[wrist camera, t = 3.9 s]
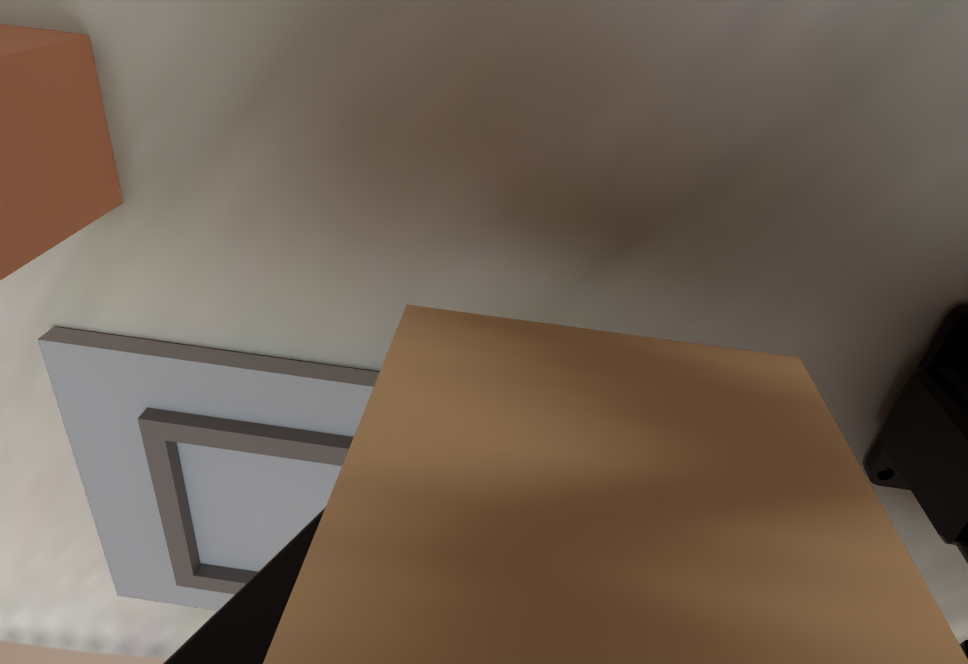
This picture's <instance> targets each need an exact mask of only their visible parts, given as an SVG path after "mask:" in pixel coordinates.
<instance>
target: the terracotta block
mask: <svg viewBox="0 0 968 664" xmlns="http://www.w3.org/2000/svg"><path fill="white" fill-rule="evenodd" d="M122 203H123V200H122V195H121V190H120V185H119V180H118V175H117V170H116V165H115V161H114V156H113V151H112V146H111V141H110V136H109V131H108V126H107V121H106V116H105V111H104V107H103V102H102V97H101V92H100V87H99V82H98V77H97V72H96V67H95V62H94V57H93V53H92V48H91V43H90V38H89V35H84V34H76V33H68V32H60V31H52V30H44V29H36V28H28V27H20V26H12V25H4V24H0V280H2V279H3V278H5V277H6V276H8V275H10V274H11V273H13V272H14V271H16V270H17V269H19V268H21V267H22V266H24V265H25V264H27V263H29V262H30V261H32V260H33V259H35V258H36V257H38V256H40V255H41V254H43V253H44V252H46V251H47V250H49V249H51V248H52V247H54V246H55V245H57V244H59V243H60V242H62V241H63V240H65V239H66V238H68V237H70V236H71V235H73V234H74V233H76V232H77V231H79V230H81V229H82V228H84V227H85V226H87V225H89V224H90V223H92V222H93V221H95V220H96V219H98V218H100V217H101V216H103V215H104V214H106V213H107V212H109V211H111V210H112V209H114V208H115V207H117V206H119V205H120V204H122Z"/></svg>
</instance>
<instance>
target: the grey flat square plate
mask: <svg viewBox="0 0 968 664" xmlns="http://www.w3.org/2000/svg"><path fill="white" fill-rule="evenodd" d="M38 342H39V346H40V349H41V352H42V355H43V358H44V362H45V365H46V368H47V371H48V374H49V378H50V381H51V384H52V387H53V390H54V394H55V397H56V400H57V403H58V406H59V410H60V413H61V416H62V419H63V422H64V426H65V429H66V432H67V435H68V438H69V442H70V445H71V448H72V451H73V454H74V458H75V461H76V464H77V467H78V470H79V474H80V477H81V480H82V483H83V486H84V490H85V493H86V496H87V499H88V502H89V506H90V509H91V512H92V515H93V518H94V522H95V525H96V528H97V531H98V534H99V538H100V541H101V544H102V547H103V550H104V554H105V557H106V560H107V563H108V566H109V570H110V573H111V576H112V579H113V582H114V586H115V589H116V592H117V595H118V596H124V597H131V598H137V599H144V600H150V601H157V602H163V603H170V604H177V605H183V606H190V607H196V608H203V609H209V610H216V611H218V610H219V609H220V608H221V607H222V606H224V605H225V604H226V603H227V602H228V601H229V600H230V599H231V598H232V597H233V596H234V595H235V594H236V593H237V592H238V591H239V590H240V589H241V588H242V587H243V586H244V585H245V584H246V583H247V582H248V581H249V580H250V579H251V578H253V577H254V576H255V575H256V574H257V573H258V572H259V571H260V570H261V569H262V568H263V567H264V566H265V565H266V564H267V563H268V562H269V561H270V560H271V559H272V558H273V557H274V556H275V555H276V554H277V553H278V552H279V551H280V550H282V549H283V548H284V547H285V546H286V545H287V544H288V543H289V542H290V541H291V540H292V539H293V538H294V537H295V536H296V535H297V534H298V533H299V532H300V531H301V530H302V529H303V528H304V527H305V526H306V525H307V524H308V523H309V522H311V521H312V520H313V519H314V518H315V517H316V516H317V515H318V514H319V513H320V512H321V511H322V510H323V509H324V508H325V507H326V505H327V503H328V500H329V498H330V495H331V493H332V490H333V488H334V485H335V483H336V480H337V478H338V475H339V473H340V470H341V468H342V465H343V463H344V460H345V458H346V455H347V453H348V450H349V448H350V445H351V443H352V440H353V438H354V435H355V433H356V430H357V428H358V425H359V423H360V420H361V418H362V415H363V413H364V410H365V408H366V405H367V403H368V400H369V398H370V395H371V393H372V390H373V388H374V385H375V383H376V380H377V378H378V375H379V373H380V372H374V371H367V370H360V369H352V368H345V367H338V366H331V365H324V364H317V363H310V362H303V361H295V360H288V359H281V358H274V357H267V356H260V355H253V354H245V353H238V352H231V351H224V350H217V349H210V348H203V347H196V346H188V345H181V344H174V343H167V342H160V341H153V340H146V339H139V338H131V337H124V336H117V335H110V334H103V333H96V332H89V331H81V330H74V329H67V328H60V327H53V328H52V329H50V330H49V331H48V332H47V333H45V334H44V335H43V336H41V337H40V338H39V339H38Z"/></svg>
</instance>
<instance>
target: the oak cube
mask: <svg viewBox="0 0 968 664" xmlns="http://www.w3.org/2000/svg"><path fill="white" fill-rule="evenodd" d="M263 664H968V659H967V657H966V655H965V654H964V652H963V650H962V648H961V647H960V645H959V643H958V641H957V639H956V638H955V636H954V634H953V632H952V630H951V629H950V627H949V625H948V623H947V621H946V620H945V618H944V616H943V614H942V612H941V611H940V609H939V607H938V605H937V603H936V602H935V600H934V598H933V596H932V594H931V593H930V591H929V589H928V587H927V585H926V584H925V582H924V580H923V578H922V576H921V575H920V573H919V571H918V569H917V567H916V566H915V564H914V562H913V560H912V558H911V557H910V555H909V553H908V551H907V549H906V548H905V546H904V544H903V542H902V540H901V539H900V537H899V535H898V533H897V531H896V530H895V528H894V526H893V524H892V522H891V521H890V519H889V517H888V515H887V513H886V512H885V510H884V508H883V506H882V504H881V503H880V501H879V499H878V497H877V495H876V494H875V492H874V490H873V488H872V486H871V485H870V483H869V481H868V479H867V477H866V476H865V474H864V472H863V470H862V469H861V467H860V465H859V463H858V461H857V460H856V458H855V456H854V454H853V452H852V451H851V449H850V447H849V445H848V443H847V442H846V440H845V438H844V436H843V434H842V433H841V431H840V429H839V427H838V425H837V424H836V422H835V420H834V418H833V416H832V415H831V413H830V411H829V409H828V407H827V406H826V404H825V402H824V400H823V398H822V397H821V395H820V393H819V391H818V389H817V388H816V386H815V384H814V382H813V380H812V379H811V377H810V375H809V373H808V371H807V370H806V368H805V366H804V364H803V362H802V361H801V359H800V358H798V357H790V356H783V355H776V354H768V353H761V352H753V351H746V350H739V349H731V348H724V347H716V346H709V345H702V344H694V343H687V342H679V341H672V340H665V339H657V338H650V337H642V336H635V335H628V334H620V333H613V332H605V331H598V330H591V329H583V328H576V327H568V326H561V325H554V324H546V323H539V322H531V321H524V320H517V319H509V318H502V317H494V316H487V315H479V314H472V313H465V312H457V311H450V310H442V309H435V308H428V307H420V306H413V305H406V308H405V310H404V313H403V315H402V318H401V320H400V323H399V325H398V328H397V330H396V333H395V335H394V338H393V340H392V343H391V345H390V348H389V350H388V353H387V355H386V358H385V360H384V363H383V365H382V368H381V370H380V373H379V375H378V378H377V380H376V383H375V385H374V388H373V390H372V393H371V395H370V398H369V400H368V403H367V405H366V408H365V410H364V413H363V415H362V418H361V420H360V423H359V425H358V428H357V430H356V433H355V435H354V438H353V440H352V443H351V445H350V448H349V450H348V453H347V455H346V458H345V460H344V463H343V465H342V468H341V470H340V473H339V475H338V478H337V480H336V483H335V485H334V488H333V490H332V493H331V495H330V498H329V500H328V503H327V505H326V508H325V510H324V513H323V515H322V518H321V520H320V523H319V525H318V528H317V530H316V533H315V535H314V538H313V540H312V543H311V545H310V548H309V550H308V553H307V555H306V558H305V560H304V563H303V565H302V568H301V570H300V573H299V575H298V578H297V580H296V583H295V585H294V588H293V590H292V592H291V595H290V597H289V600H288V602H287V605H286V607H285V610H284V612H283V615H282V617H281V620H280V622H279V625H278V627H277V630H276V632H275V635H274V637H273V640H272V642H271V645H270V647H269V650H268V652H267V655H266V657H265V660H264V662H263Z"/></svg>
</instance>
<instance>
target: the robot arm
mask: <svg viewBox="0 0 968 664" xmlns="http://www.w3.org/2000/svg"><path fill="white" fill-rule="evenodd" d="M966 321H968V304H963V305H960V306H957V307H956V308H954V309H953V310H951V311H950V312H949V314H948V315H947V316H946V317H945V319H944V321H943V323H942V325H941V327H940V328H939V330H938V332H937V334H936V336H935V337H934V339H933V341H932V343H931V345H930V346H929V348H928V350H927V352H926V354H925V355H924V357H923V359H922V361H921V363H920V364H919V366H918V368H917V370H916V372H914V373H913V374H912V376H911V378H910V379H909V381H908V383H907V385H906V387H905V389H904V390H903V392H902V394H901V396H900V398H899V399H898V401H897V403H896V405H895V407H894V409H893V410H892V412H891V414H890V416H889V418H888V419H887V421H886V423H885V425H884V427H883V428H882V430H881V432H880V434H879V439H878V440H877V442H876V444H875V446H874V448H873V450H872V451H871V453H870V455H869V457H868V459H867V460H866V462H865V465H864V470H865V473H866V474H867V476H868V478H869V480H870V481H871V482H872V483H873V484H876V485H879V486H886V487H893V488H900V489H907V490H911V491H912V492H913V494H914V496H915V497H916V499H917V500H918V502H919V504H920V505H921V507H922V509H923V510H924V512H925V513H926V515H927V517H928V518H929V520H930V521H931V523H932V525H933V526H934V528H935V529H936V531H937V533H938V534H939V536H940V537H941V539H942V540H943V541H944V542H945V543H946V544H953V545H956V546H957V547H958V549H959V550H960V552H961V554H962V555H963V557H964V558H965V560H966V561H967V563H968V326H965V327H962V325H963V324H964V323H965V322H966ZM884 468H887V469H886V470H883V471H880V470H882V469H884ZM325 508H326V507H325ZM325 508H324V509H323V510H322V511H321V512H320V513H319V514H318V515H317V516H316V517H315V518H314V519H313V520H312V521H311V522H309V523H308V524H307V525H306V526H305V527H304V528H303V529H302V530H301V531H300V532H299V533H298V534H297V535H296V536H295V537H294V538H293V539H292V540H291V541H290V542H289V543H288V544H287V545H286V546H285V547H284V548H283V549H282V550H280V551H279V552H278V553H277V554H276V555H275V556H274V557H273V558H272V559H271V560H270V561H269V562H268V563H267V564H266V565H265V566H264V567H263V568H262V569H261V570H260V571H259V572H258V573H257V574H256V575H255V576H254V577H253V578H251V579H250V580H249V581H248V582H247V583H246V584H245V585H244V586H243V587H242V588H241V589H240V590H239V591H238V592H237V593H236V594H235V595H234V596H233V597H232V598H231V599H230V600H229V601H228V602H227V603H226V604H225V605H224V606H222V607H221V608H220V609H219V610H218V611H217V612H216V613H215V614H214V615H213V616H212V617H211V618H210V619H209V620H208V621H207V622H206V623H205V624H204V625H203V626H202V627H201V628H200V629H199V630H198V631H197V632H196V633H195V634H193V635H192V636H191V637H190V638H189V639H188V640H187V641H186V642H185V643H184V644H183V645H182V646H181V647H180V648H179V649H178V650H177V651H176V652H175V653H174V654H173V655H172V656H171V657H170V658H169V659H168V660H167V661H165V662H164V664H263V662H264V660H265V657H266V655H267V652H268V650H269V647H270V645H271V642H272V640H273V637H274V635H275V632H276V630H277V627H278V625H279V622H280V620H281V617H282V615H283V612H284V610H285V607H286V605H287V602H288V600H289V597H290V595H291V592H292V590H293V588H294V585H295V583H296V580H297V578H298V575H299V573H300V570H301V568H302V565H303V563H304V560H305V558H306V555H307V553H308V550H309V548H310V545H311V543H312V540H313V538H314V535H315V533H316V530H317V528H318V525H319V523H320V520H321V518H322V515H323V513H324V510H325ZM959 645H960V647H961V648H962V650H963V652H964V654H965V655H966V657H967V659H968V640H965V641H964V642H962V643H961V644H959Z"/></svg>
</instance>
